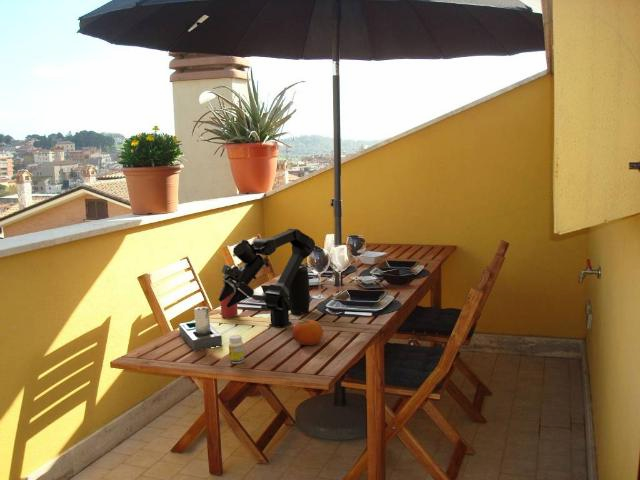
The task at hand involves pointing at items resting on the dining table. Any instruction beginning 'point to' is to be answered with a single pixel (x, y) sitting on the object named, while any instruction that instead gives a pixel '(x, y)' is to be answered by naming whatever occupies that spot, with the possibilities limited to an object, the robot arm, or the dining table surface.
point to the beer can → (228, 308)
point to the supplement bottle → (236, 349)
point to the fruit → (307, 332)
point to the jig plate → (199, 342)
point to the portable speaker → (300, 291)
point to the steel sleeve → (202, 321)
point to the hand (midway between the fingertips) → (223, 303)
